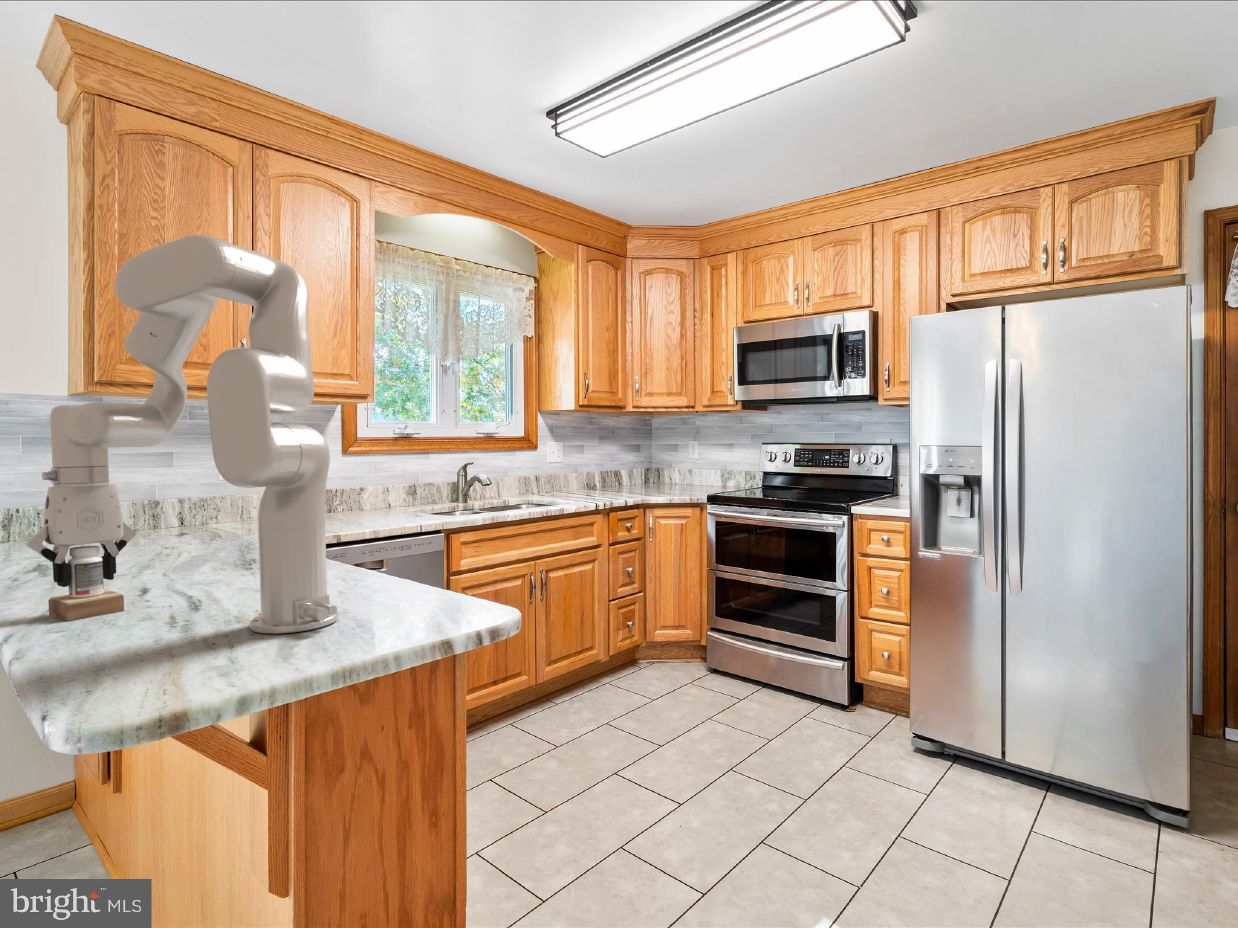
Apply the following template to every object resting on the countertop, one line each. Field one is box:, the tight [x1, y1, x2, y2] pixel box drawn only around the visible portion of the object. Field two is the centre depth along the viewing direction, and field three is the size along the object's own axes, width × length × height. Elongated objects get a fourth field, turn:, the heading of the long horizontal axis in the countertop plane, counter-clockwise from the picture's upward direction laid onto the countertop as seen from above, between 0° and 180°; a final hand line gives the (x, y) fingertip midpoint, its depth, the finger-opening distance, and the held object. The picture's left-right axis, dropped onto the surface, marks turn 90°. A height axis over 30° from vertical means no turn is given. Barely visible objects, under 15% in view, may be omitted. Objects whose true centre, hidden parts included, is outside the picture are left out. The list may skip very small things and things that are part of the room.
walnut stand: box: [47, 589, 125, 622], centre depth 116 cm, size 8×8×3 cm
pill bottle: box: [67, 545, 104, 598], centre depth 116 cm, size 5×5×8 cm
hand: (85, 581), depth 116 cm, fingers open, 5 cm apart
